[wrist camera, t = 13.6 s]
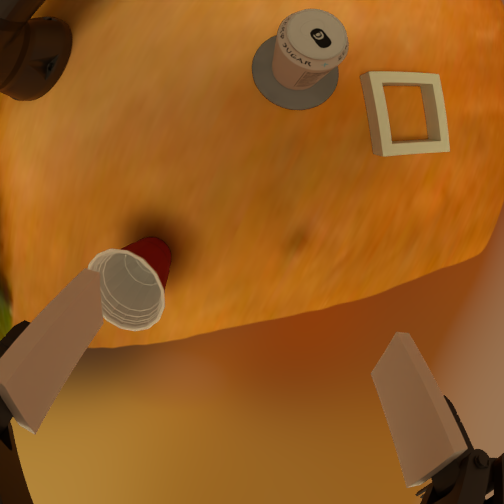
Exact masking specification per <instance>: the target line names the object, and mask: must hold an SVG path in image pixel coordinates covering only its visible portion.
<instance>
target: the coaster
mask: <svg viewBox="0 0 504 504" xmlns="http://www.w3.org/2000/svg"><path fill="white" fill-rule="evenodd" d="M276 38H277V35H276V36H274V37H271V38H270V39H268V40H267V41H265V42H264V43H263V44H262V45H261V46H260V47H259V49H258V50H257V52H256V54H255V56H254V59H253V64H252V73H253V78H254V82H255V84H256V86H257V88H258V89H259V91H260V92H261V93H262V94H263V96H264V97H266V98H267V99H268V100H269V101H271V102H272V103H274V104H276V105H278V106H280V107H283V108H286V109H291V110H305V109H310V108H313V107H316V106H318V105H320V104H321V103H323V102H325V101H326V100H327V99H328V98H329V97H330V96H331V95H332V93H333V92H334V90H335V88H336V86H337V82H338V66H336V67H335V68H334V69H333V70H331V71H330V72H329V73H328V74H326V75H325V76H324V77H323V78H322V79H320V80H319V81H318V82H317V83H316V84H314V85H313V86H312V87H310V88H308V89H304V90H292V89H288V88H286V87H284V86H283V85H281V84H280V83H279V82H278V81H277V80H276V78H275V77H274V75H273V72H272V62H273V56H274V50H275V44H276Z"/></svg>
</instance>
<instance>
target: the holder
mask: <svg viewBox="0 0 504 504" xmlns="http://www.w3.org/2000/svg"><path fill="white" fill-rule="evenodd" d="M360 79H361V84H362V89H363V94H364V99H365V104H366V110H367V115H368V121H369V128H370V134H371V141H372V149H373V154H375V155H379V156H394V155H405V154H418V153H434V152H450V147H449V136H448V126H447V118H446V111H445V105H444V98H443V93H442V87H441V82H440V77H439V74H430V73H415V72H388V71H370V72H367V73H365V74H363V75H361V76H360ZM383 86H420V87H421V93H422V98H423V104H424V110H425V117H426V124H427V132H428V139H425V140H406V141H392V139H391V132H390V125H389V118H388V112H387V106H386V101H385V95H384V90H383Z"/></svg>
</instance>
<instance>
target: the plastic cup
mask: <svg viewBox="0 0 504 504" xmlns="http://www.w3.org/2000/svg"><path fill="white" fill-rule="evenodd" d="M170 264H171V252H170V250H169V247H168V246H167V245H166V244H165V242H164V241H162V240H160V239H158V238H156V237H147V238H144V239H141V240H139V241H137V242H135V243H132V244H130V245H128V246H126V247H124V248H122V249H109V250H106V251H104V252H101V253H98V254H97V255H96V256H95V257H94V259H93V260H92V261H91V262H90V263H89V265H88V269H89V270H92V271H96V272H99V273H100V290H101V304H102V315H103V317H104V318H105V319H106V320H107V321H108V322H110V323H112V324H114V325H115V326H117V327H119V328H121V329H126V330H131V331H139V330H144V329H149V328H150V327H151V326H153V325H154V324H155V323H156V322H158V321H159V320H160V317H161V315H162V313H163V310H164V308H165V296H164V293H165V286H166V282H167V278H168V274H169V268H170Z"/></svg>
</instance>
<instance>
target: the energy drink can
mask: <svg viewBox="0 0 504 504" xmlns="http://www.w3.org/2000/svg"><path fill="white" fill-rule="evenodd" d="M348 44H349V43H348V37H347V33H346V30H345V28H344V26H343V24H342V23H341V22H340V21H339V20H338V19H337V18H336V17H335V16H333V15H332V14H330V13H328V12H326V11H323V10H319V9H305V10H302V11H299V12H296V13H293V14H291V15H289V16H288V17H286V18H285V19H284V20H283V21H282V23H281V24H280V26H279V29H278V32H277V38H276V44H275V50H274V56H273V62H272V72H273V75H274V77H275V78H276V80H277V81H278V82H279V83H280V84H281V85H283V86H284V87H286V88H288V89H292V90H304V89H308V88H310V87H312V86H313V85H314V84H316V83H317V82H318V81H319V80H320V79H322V78H323V77H324V76H325V75H326V74H328V73H329V72H330V71H331V70H333V69H334V68H335V67H336V66H337V65H339V64H340V63H341V62H342V61H343V60H344V58H345V57H346V55H347V52H348Z"/></svg>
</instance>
